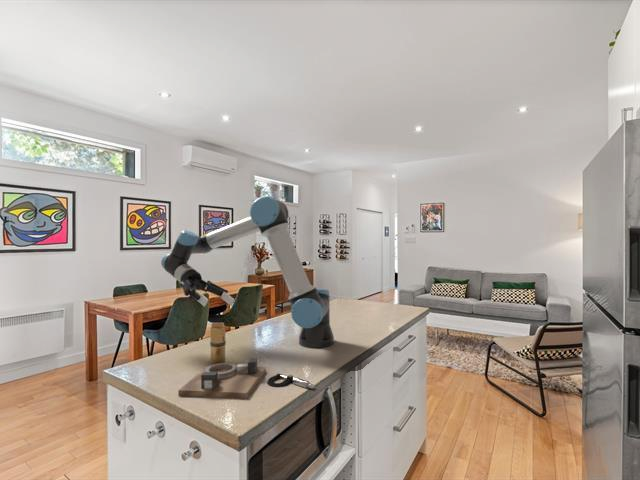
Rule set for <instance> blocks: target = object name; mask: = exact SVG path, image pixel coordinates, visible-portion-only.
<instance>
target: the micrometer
mask: <svg viewBox="0 0 640 480" xmlns="http://www.w3.org/2000/svg"><path fill="white" fill-rule="evenodd" d="M280 378H281V379H284V380H283V381H282V382H276V380H278V379H280ZM266 383H267V385H268V386H269V387H271V388H283V387H286V386H288V385H289V384H293V385H296V386H297V387H302V388H304V389H311V390H313V389H314V388H315V385H314V384H313V383H311V381H308V380H305V379H302V378H299V377H295V376H293V374H288V375H283V374H281V373H277V374H276V375H273V376H271V377H270V378H268V379H267V382H266Z"/></svg>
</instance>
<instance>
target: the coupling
mask: <svg viewBox="0 0 640 480" xmlns="http://www.w3.org/2000/svg"><path fill="white" fill-rule="evenodd" d="M209 345H210V365H214V364H219V363H226V345H227V341H226V326H225V322H212V323H211V326H210V342H209Z"/></svg>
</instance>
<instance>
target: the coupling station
mask: <svg viewBox="0 0 640 480" xmlns="http://www.w3.org/2000/svg"><path fill="white" fill-rule="evenodd" d="M248 358H249V359H248V361H247V363H240V364H239V363H238V364H237V365H236V364H234V363H232V362H225V363H219V364H214V365H211V364H210V365H206V367H205V368H204V369H203V370H200V372H199V373H198V374H196V375H195V376H194V377H193V378H192V379H190V380H189V381H187V383H185V384H184V385H183V386H181V387H180V388H179V389H178V390H177V392H178V393H177V394H178V395H180V397H182V396H183V397H202V398H203V397H204V398H231V399H247V398H248V397H249V396H250V394H252V392H253V391H254V389H255V388H256V386H257V385H258V383H259V382H260V381H261V379H262V377H264V375H265V373H266V371H267V369H266V366H258V357H248Z"/></svg>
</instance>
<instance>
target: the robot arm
mask: <svg viewBox="0 0 640 480" xmlns="http://www.w3.org/2000/svg"><path fill="white" fill-rule="evenodd" d="M289 225H290V223H289V209H288V207H287V205H286V204H285V203H284V202H282V201H280V200H278V199H276V198H274V197H273V196H266V195H265V196H260V197H258V198H257V199H255V200H254V201H253V202H252V204H251V206H250V209H249V216H248V217H246V218H242V219H241V220H238V221H236V222H234V223H231V224H228V225H226V226H223V227H221V228H219V229H216V230H214V231H210V232H209V233H205V234H202V235H201V236H199V235H197V234H196V233H194V232H192V231H190V230H189V231H188V230H185V229H184V230H181V231H180V234H179V235H178V236H177V239H176V241H175V244H174V246H173V248H172V250H171V252H170V253H167V254H165V255H164V257H162V259H161V261H160V263H161V267H162V268H163V269H164V270H165V272H167V274H170V275H171V276H172V277H173V278H175V279H176V281H178V283H180V286H181V287H182V289H183V293H184V296H185V297H188V296H189V297H188V298H189V299H195V300H196V301H197V302H198V303H199V304H201V305H202V306H203V307H206V306H207V304H208V303H209V299H208V298H207V297H206V296H205V295H204V294H203V293H201V292H200V291H203V292H205V293H208V292H209V293H211V294H213V295H215V296H218V297H220V299H222V300H223V301H224V302H226V304H228V305H229V306H230V307H232V306H234V303H235V300H236V299H235V298H234V297H232V296H230V295H229V294H228V292H229V291H228V289H224V288H223V287H221V286H219V285H217V284H215V283H213V282H212V281H210V280H207V281H206V280H204V279H203V278H202V274H201V273H200V272H198V271H197V270H196V269H195V268H194V267H192V266H191V265H189V264H188V262H189V260H190V259H191V256H192V255H193V254H208V253H211V252H212V251H213V250H215V249H217V248H220V247H222V246H225V245H227V244H229V243H232V242H234V241H237V240H240V239H243V238H245V237H249V236H250V235H253V234H256V233H259V232H260V233H261V236H263V237H265V238H267V241H268V243H269V245H270V247H271V250H272V252H273V255H274V257H275V260H276V262H277V264H278V266H279V269H280V272H281V274H282V277H283V280H284V282H285V284H286V286H287V289H288V291H289V295H288V302H289V304H290V306H291V312H290V314H291V318H292V320H293V322H294V324H295V325H297V326H298V327H301V328H300V329H301V330H300V333H299V336H298V344H299V345H300V346H302V347H306V348H314V349H315V348H325V347H329V345H330V346H332V345H334V343H335V336H334V334H333V331H332V330H333V329H332V328H331V322H330V321H331V319H330V316H331V315H330V310H331V309H330V298H331V296H330V291H329V289H326V288H325V289H324V288H321V289H320V288H319V289H317V287H316V286H314V285H313V284H311V283H310V280H309V278H308V276H307V272H306V271H305V269H304V267H303V264H302V260H300V257H299V254H298V252H297V250H296V247H295V245H294V242H293V240H292V238H291V236H290V233H289V231H288V227H289ZM331 344H332V345H331Z"/></svg>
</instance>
